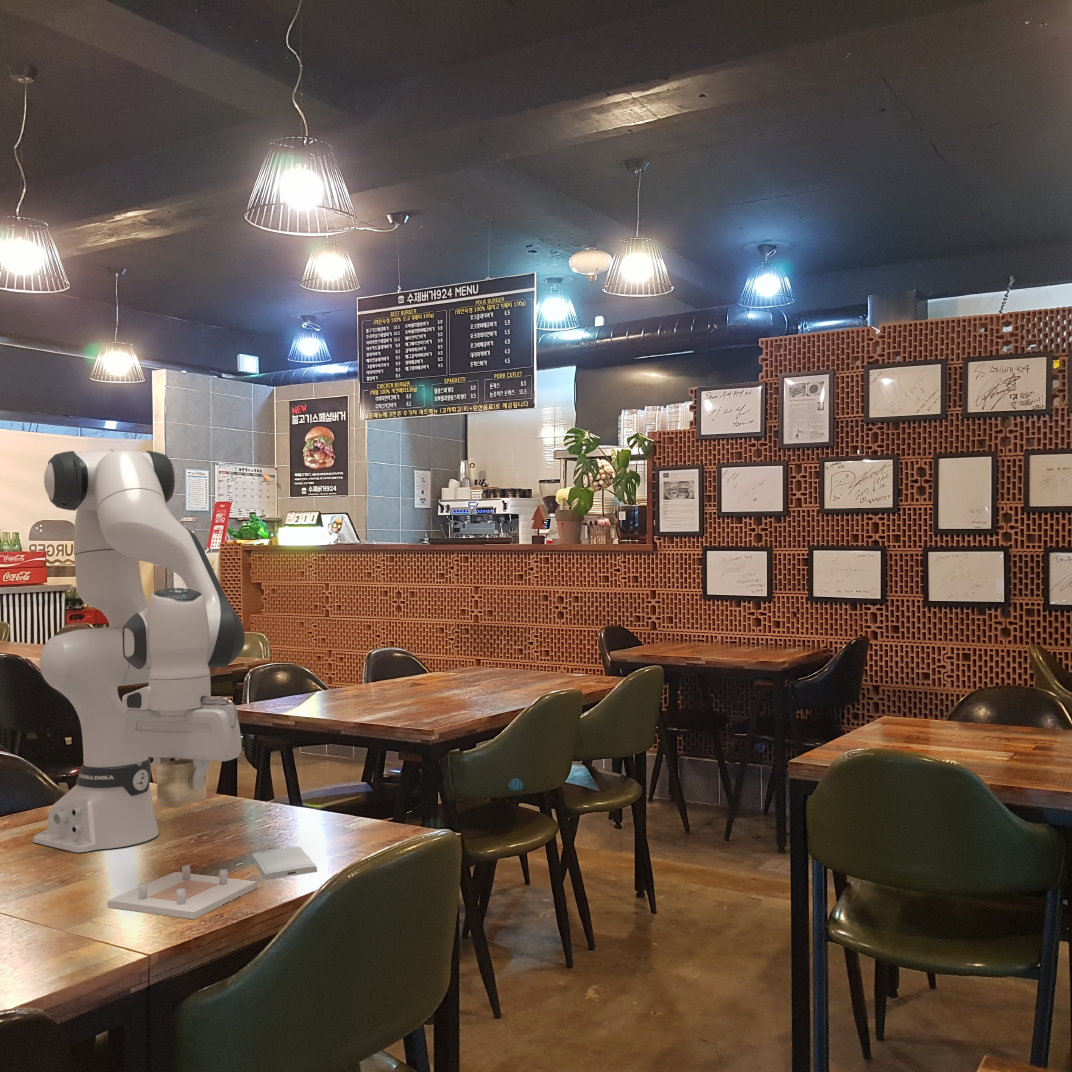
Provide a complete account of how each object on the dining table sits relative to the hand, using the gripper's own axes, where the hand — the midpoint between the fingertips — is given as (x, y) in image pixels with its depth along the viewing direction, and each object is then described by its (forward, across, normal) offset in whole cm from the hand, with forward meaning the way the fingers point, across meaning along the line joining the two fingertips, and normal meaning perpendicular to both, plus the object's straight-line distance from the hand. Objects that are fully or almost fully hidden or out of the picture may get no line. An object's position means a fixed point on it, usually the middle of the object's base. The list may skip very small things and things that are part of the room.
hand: (182, 787), depth 151 cm
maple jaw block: (+2, 0, 0) cm, 2 cm away
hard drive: (+17, -5, -18) cm, 25 cm away
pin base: (+16, 0, 0) cm, 17 cm away
